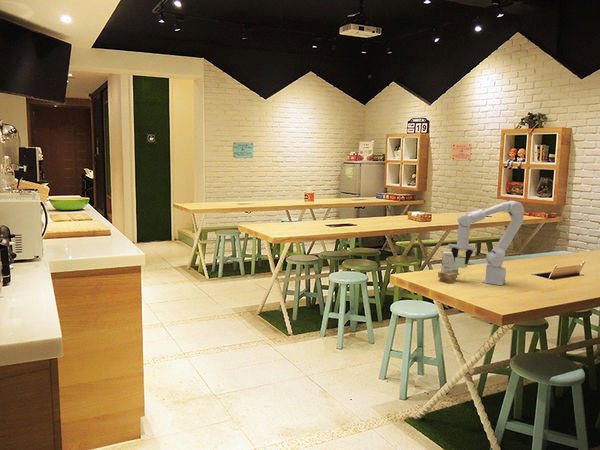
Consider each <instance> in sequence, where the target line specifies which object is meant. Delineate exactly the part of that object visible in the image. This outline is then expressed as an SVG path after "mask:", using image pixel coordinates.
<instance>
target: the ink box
mask: <svg viewBox="0 0 600 450" xmlns="http://www.w3.org/2000/svg"><path fill="white" fill-rule="evenodd" d="M458 256H460V253H459V252H458ZM454 266H455V262H454V256H453V254H452V251H451V252H450V251H442V256H441V266H440V267H441V269H440V272H443V271H449V272H454V273H458V274H457V276H458V275H459V267H454Z"/></svg>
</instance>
